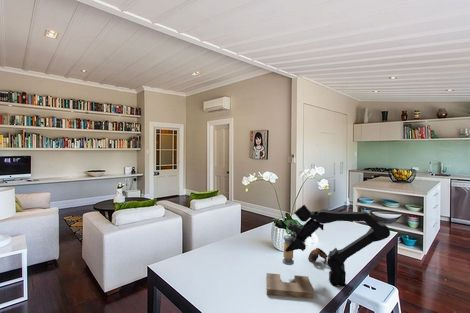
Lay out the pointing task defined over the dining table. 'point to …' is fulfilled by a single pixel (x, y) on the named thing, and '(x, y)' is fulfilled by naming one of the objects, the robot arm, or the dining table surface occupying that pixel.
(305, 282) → the notched board
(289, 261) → the bobbin
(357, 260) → the dining table surface
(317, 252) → the pottery mug
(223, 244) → the dining table surface
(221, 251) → the dining table surface
